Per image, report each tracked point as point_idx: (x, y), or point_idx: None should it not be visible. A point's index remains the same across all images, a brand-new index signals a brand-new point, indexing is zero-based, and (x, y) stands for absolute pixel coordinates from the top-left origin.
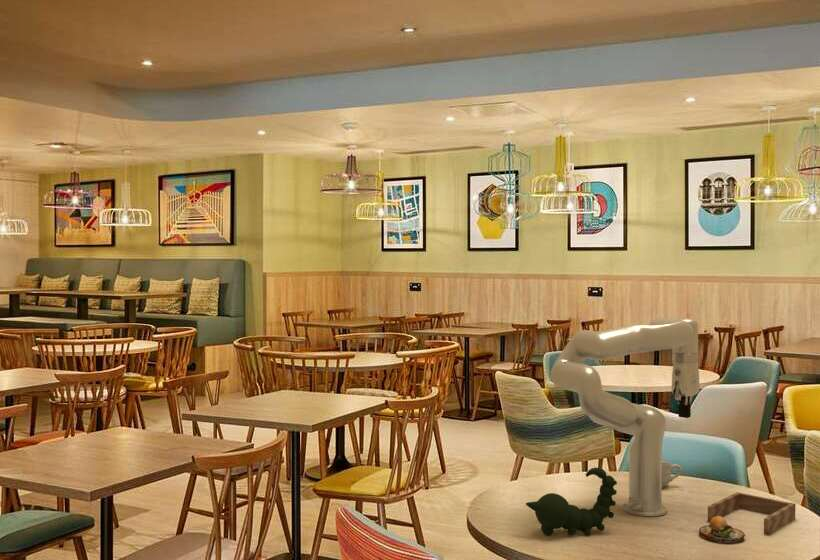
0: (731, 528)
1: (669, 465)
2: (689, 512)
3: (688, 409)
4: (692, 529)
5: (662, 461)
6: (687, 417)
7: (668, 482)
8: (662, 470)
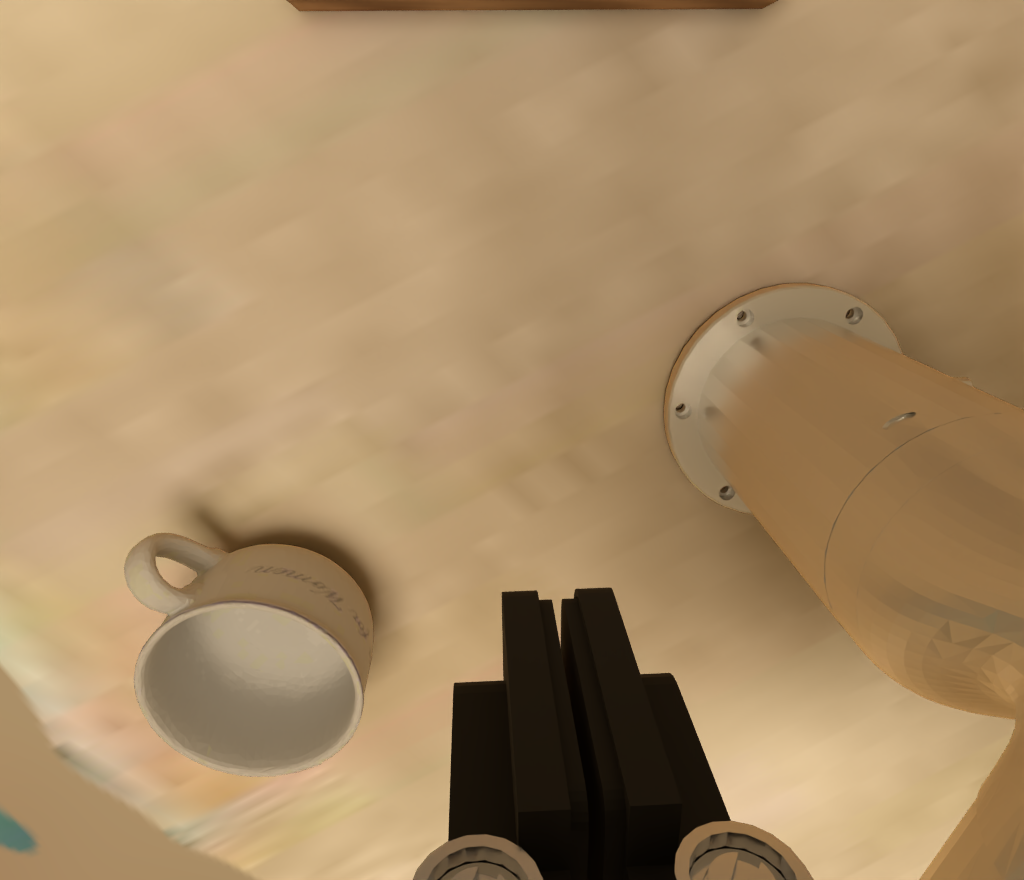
0: None
1: (233, 602)
2: (644, 198)
3: (637, 707)
4: (970, 8)
5: (142, 693)
6: (611, 597)
7: (269, 544)
8: (306, 601)
